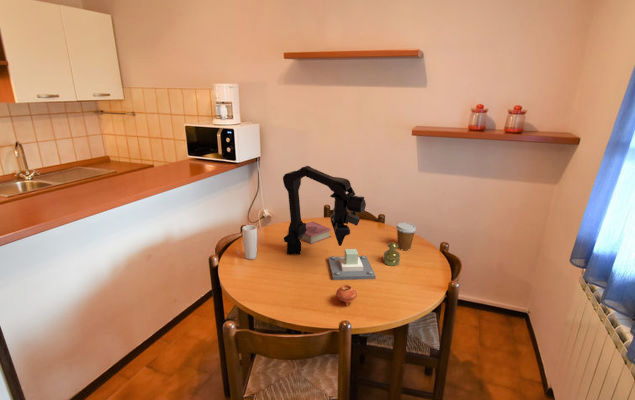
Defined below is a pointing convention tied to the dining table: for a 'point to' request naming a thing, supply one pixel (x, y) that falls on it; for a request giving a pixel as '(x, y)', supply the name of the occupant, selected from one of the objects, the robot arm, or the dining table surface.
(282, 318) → the dining table surface
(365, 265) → the tower base
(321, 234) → the book
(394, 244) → the green tiered ornament
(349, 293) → the pot
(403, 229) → the disposable coffee cup
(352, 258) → the sage brick
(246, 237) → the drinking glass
